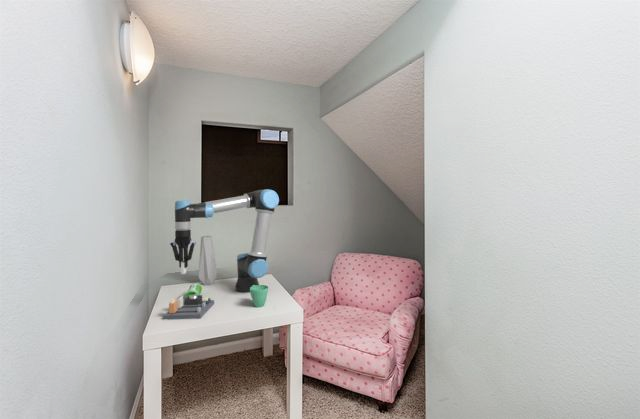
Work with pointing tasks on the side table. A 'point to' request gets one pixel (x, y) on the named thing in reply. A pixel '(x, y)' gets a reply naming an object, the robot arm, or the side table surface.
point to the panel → (191, 309)
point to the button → (193, 296)
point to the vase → (207, 261)
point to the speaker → (194, 289)
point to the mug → (259, 294)
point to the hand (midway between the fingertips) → (183, 273)
